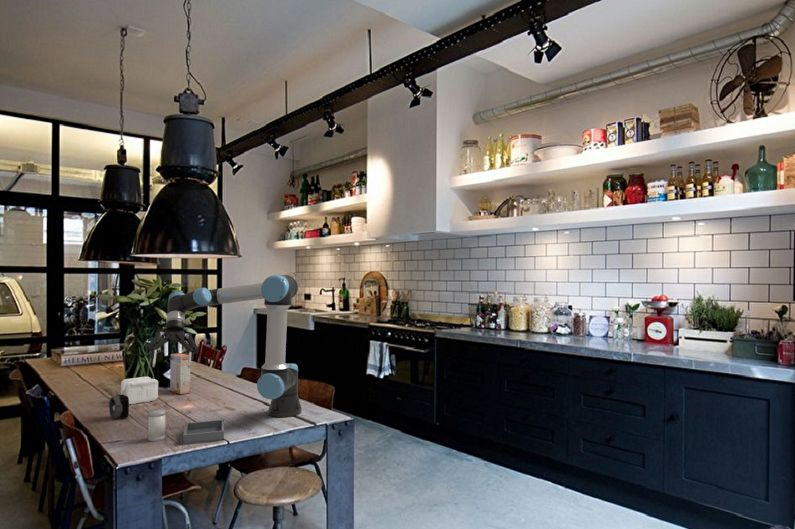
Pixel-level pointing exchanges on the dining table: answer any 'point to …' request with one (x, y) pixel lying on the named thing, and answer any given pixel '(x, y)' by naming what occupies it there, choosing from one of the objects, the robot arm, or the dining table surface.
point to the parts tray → (203, 432)
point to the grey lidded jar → (156, 425)
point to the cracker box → (179, 374)
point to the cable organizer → (140, 389)
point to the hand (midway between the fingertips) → (171, 366)
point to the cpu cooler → (119, 406)
